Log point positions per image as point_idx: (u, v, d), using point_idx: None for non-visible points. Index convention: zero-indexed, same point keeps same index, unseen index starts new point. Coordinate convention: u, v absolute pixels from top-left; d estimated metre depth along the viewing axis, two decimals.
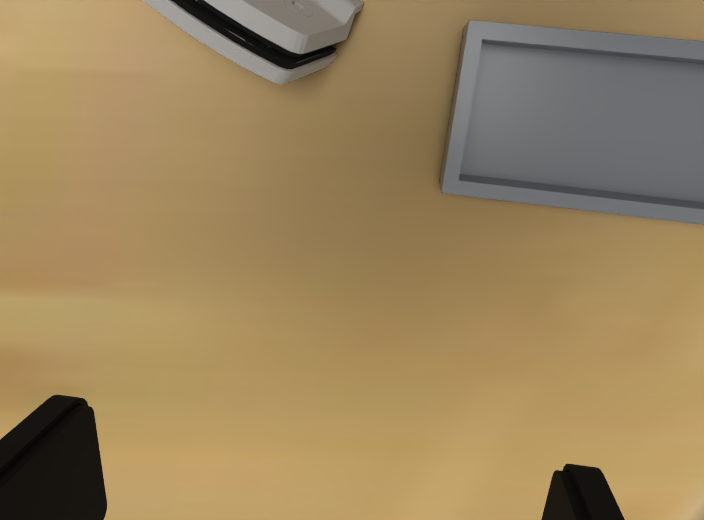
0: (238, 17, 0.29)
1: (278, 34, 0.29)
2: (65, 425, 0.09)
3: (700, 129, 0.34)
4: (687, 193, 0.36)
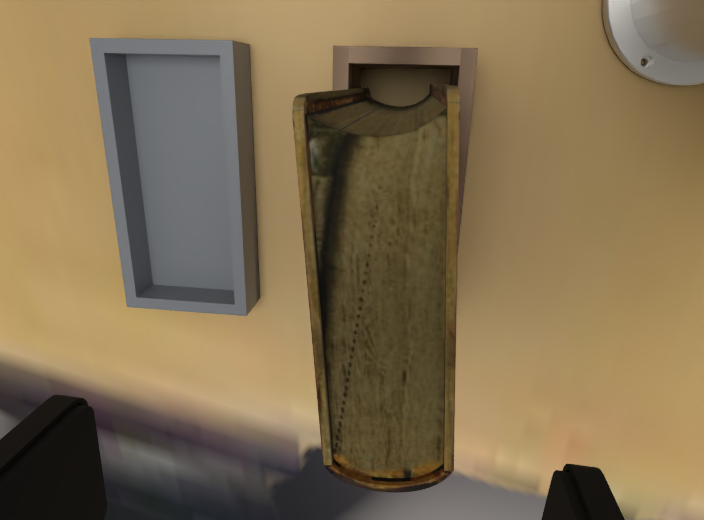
0: None
1: None
2: (65, 425, 0.09)
3: (199, 246, 0.45)
4: (153, 249, 0.45)
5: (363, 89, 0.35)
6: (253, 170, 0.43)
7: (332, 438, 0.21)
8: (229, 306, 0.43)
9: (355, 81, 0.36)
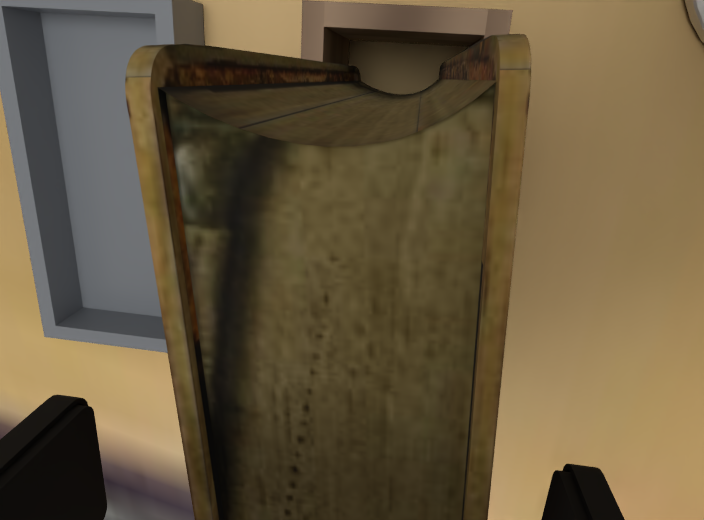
0: None
1: None
2: (65, 425, 0.09)
3: (139, 263, 0.35)
4: (83, 264, 0.36)
5: (348, 67, 0.25)
6: None
7: None
8: None
9: (338, 56, 0.26)
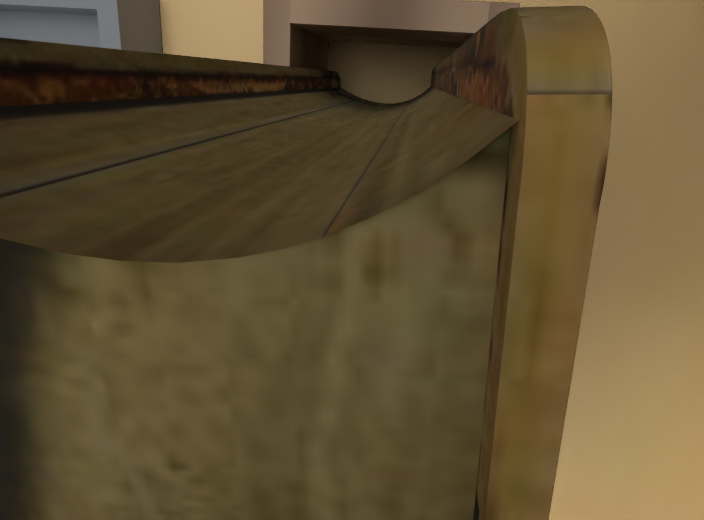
0: None
1: None
2: None
3: None
4: None
5: (322, 72, 0.21)
6: None
7: None
8: None
9: (312, 59, 0.22)
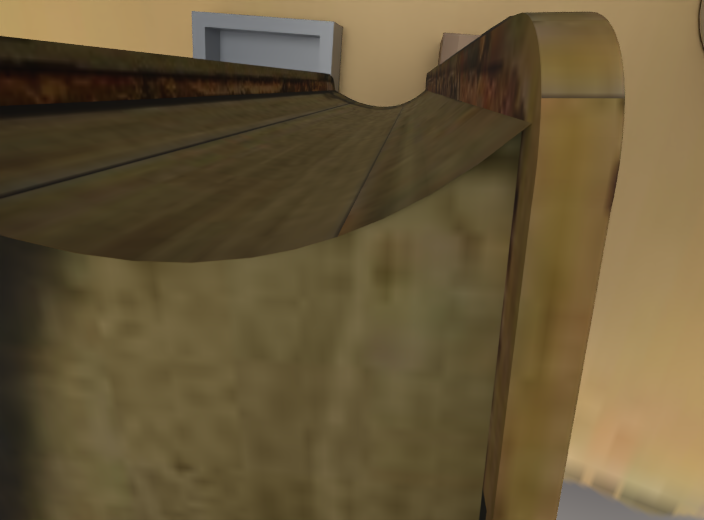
0: None
1: None
2: None
3: None
4: None
5: (317, 75, 0.21)
6: None
7: None
8: None
9: None
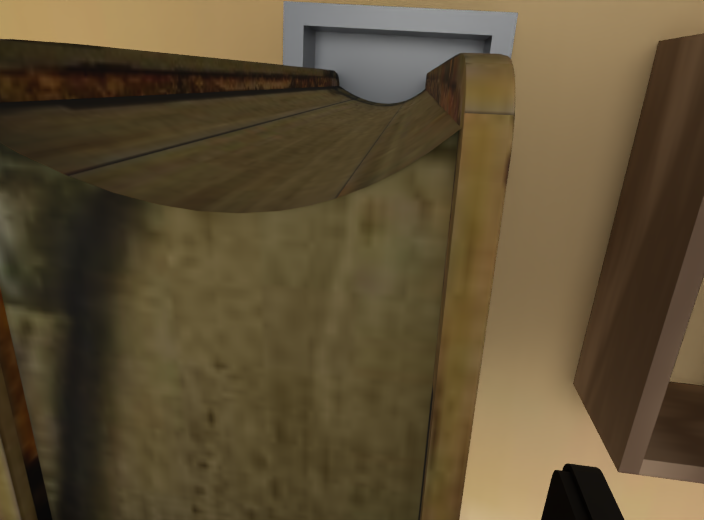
0: None
1: None
2: None
3: None
4: None
5: (323, 71, 0.23)
6: None
7: None
8: None
9: None
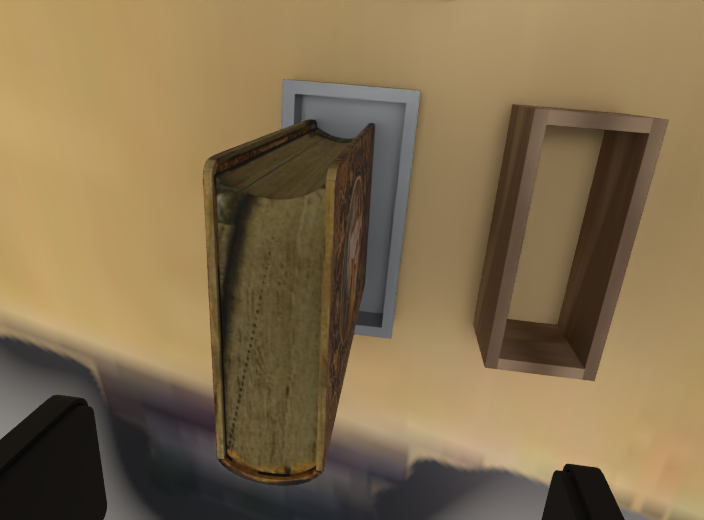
0: None
1: None
2: (65, 425, 0.09)
3: None
4: None
5: (306, 123, 0.39)
6: None
7: (226, 436, 0.25)
8: (376, 329, 0.46)
9: None
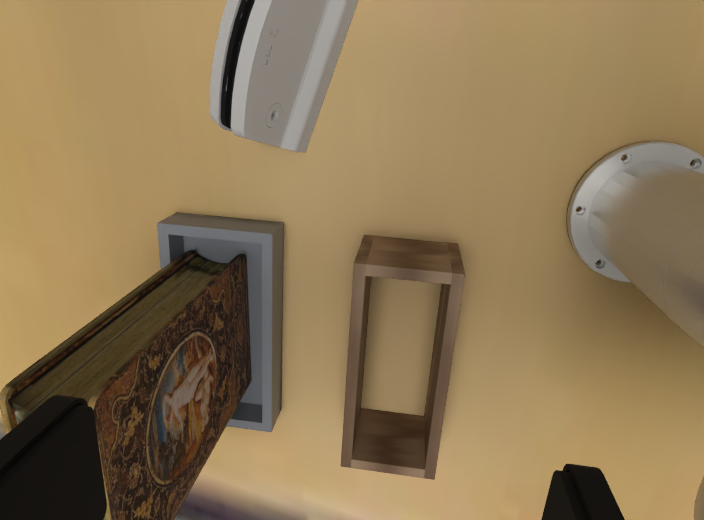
0: (236, 86, 0.37)
1: (237, 118, 0.38)
2: (65, 425, 0.09)
3: None
4: None
5: (173, 264, 0.45)
6: (281, 315, 0.52)
7: None
8: (257, 424, 0.53)
9: None
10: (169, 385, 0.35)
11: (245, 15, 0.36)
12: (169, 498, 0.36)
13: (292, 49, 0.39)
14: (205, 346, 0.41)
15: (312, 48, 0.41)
